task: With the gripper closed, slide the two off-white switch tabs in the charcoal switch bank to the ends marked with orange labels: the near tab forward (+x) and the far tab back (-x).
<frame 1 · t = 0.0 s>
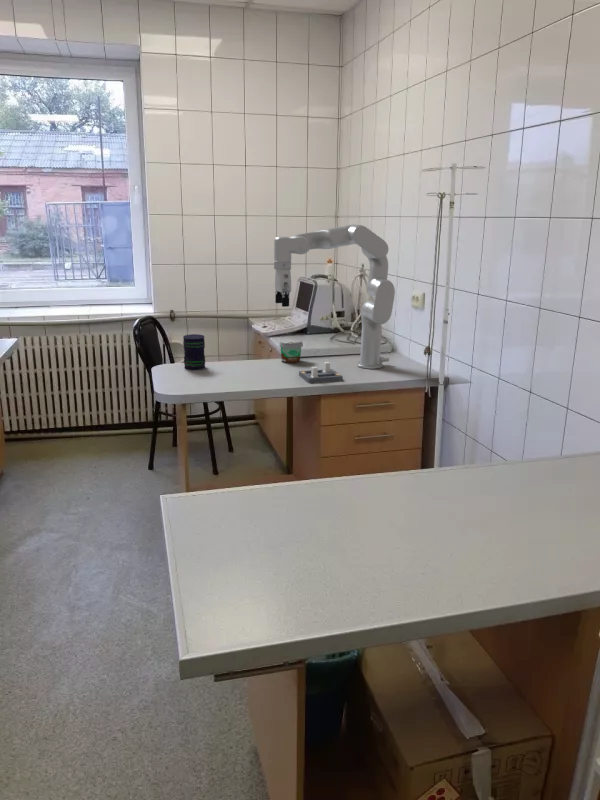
hand: (282, 304, 277), 31 cm above the table, fingers open, 9 cm apart
tab a: (326, 367, 282), point 4 cm above the table, slide at 0.0 cm
tab b: (314, 372, 273), point 4 cm above the table, slide at 8.4 cm
storage jar: (194, 368, 291), on the table
switch bank: (320, 377, 278), on the table
food container: (292, 362, 304), on the table
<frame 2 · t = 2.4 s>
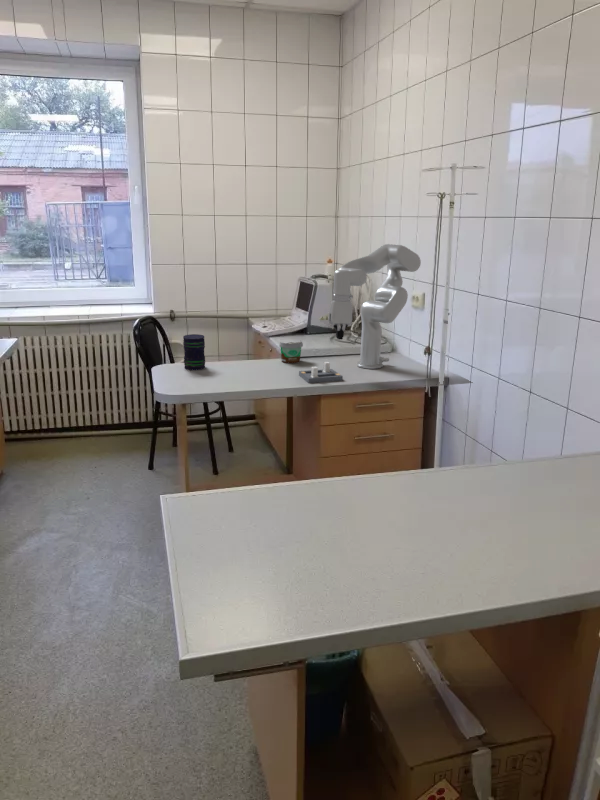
hand: (339, 338, 279), 17 cm above the table, fingers closed
nothing on the table moved.
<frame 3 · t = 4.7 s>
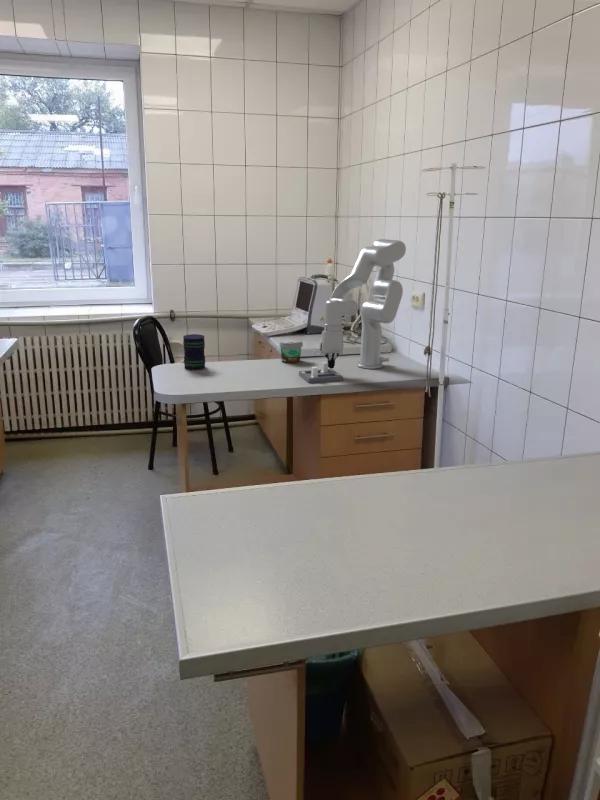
hand: (331, 367, 282), 3 cm above the table, fingers closed
tab a: (324, 367, 281), point 4 cm above the table, slide at 0.9 cm, touching gripper
everything else where it was.
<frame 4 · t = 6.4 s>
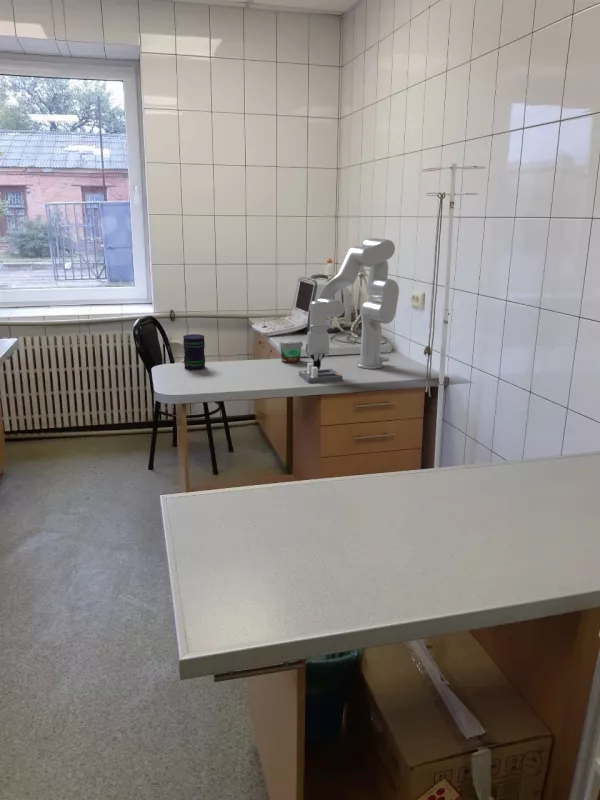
hand: (316, 368, 280), 3 cm above the table, fingers closed
tab a: (310, 368, 279), point 4 cm above the table, slide at 7.9 cm, touching gripper
everything else where it was.
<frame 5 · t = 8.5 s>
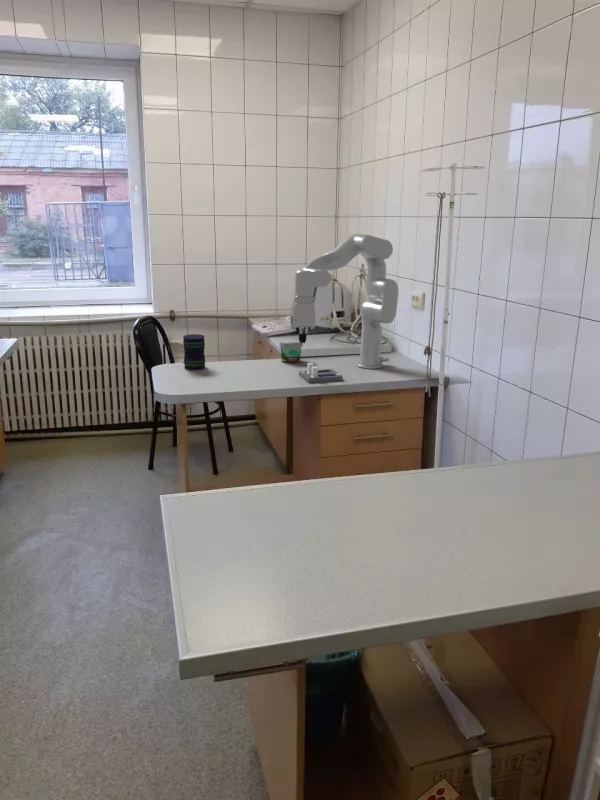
hand: (302, 342, 267), 18 cm above the table, fingers closed
tab a: (310, 368, 279), point 4 cm above the table, slide at 7.9 cm
everything else where it was.
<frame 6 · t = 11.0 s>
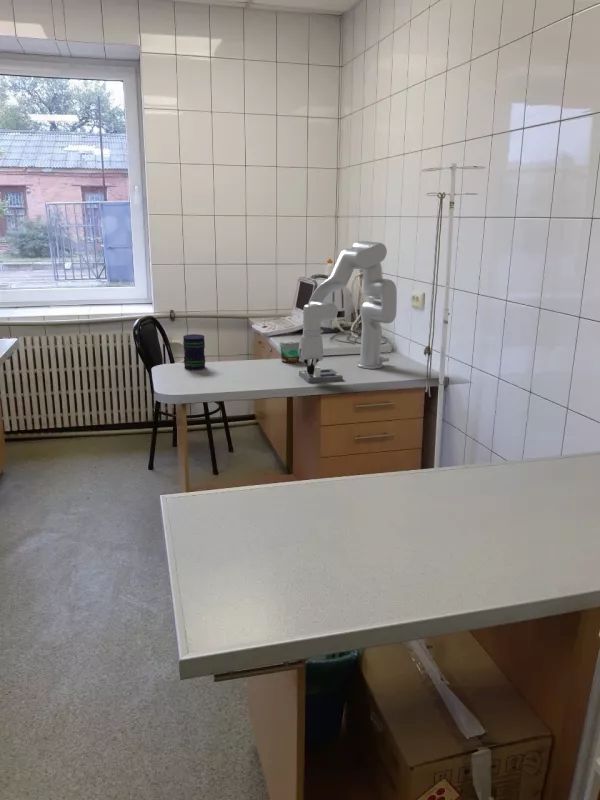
hand: (310, 373, 272), 3 cm above the table, fingers closed
tab b: (317, 372, 273), point 4 cm above the table, slide at 7.1 cm, touching gripper
everything else where it was.
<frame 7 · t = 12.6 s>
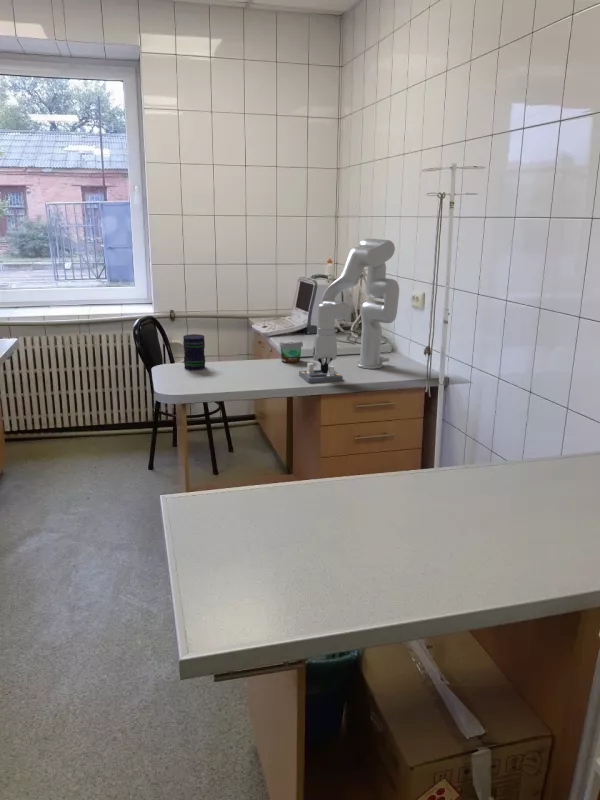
hand: (324, 372, 274), 3 cm above the table, fingers closed
tab b: (330, 371, 275), point 4 cm above the table, slide at 0.6 cm, touching gripper
everything else where it was.
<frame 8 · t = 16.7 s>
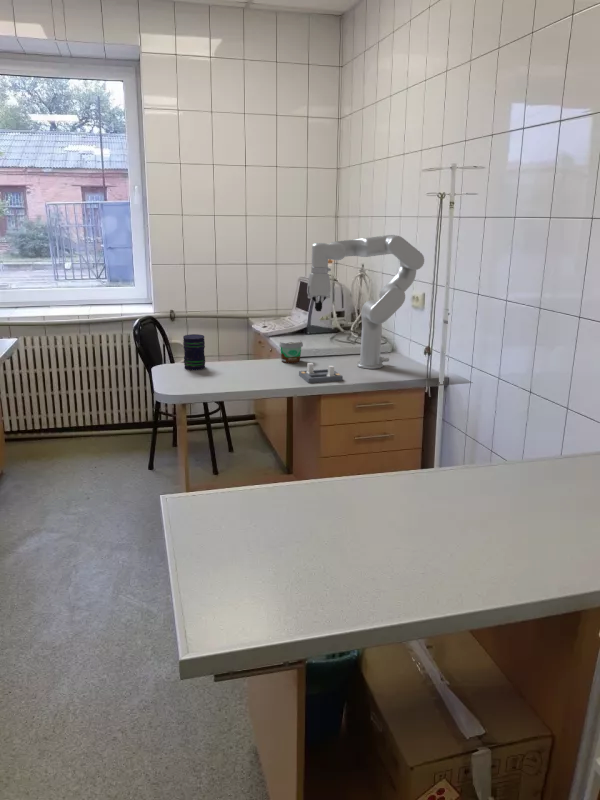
hand: (318, 310, 288), 27 cm above the table, fingers closed
tab b: (330, 371, 275), point 4 cm above the table, slide at 0.6 cm
everything else where it was.
at the end: tab a slide at 7.9 cm; tab b slide at 0.6 cm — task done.
